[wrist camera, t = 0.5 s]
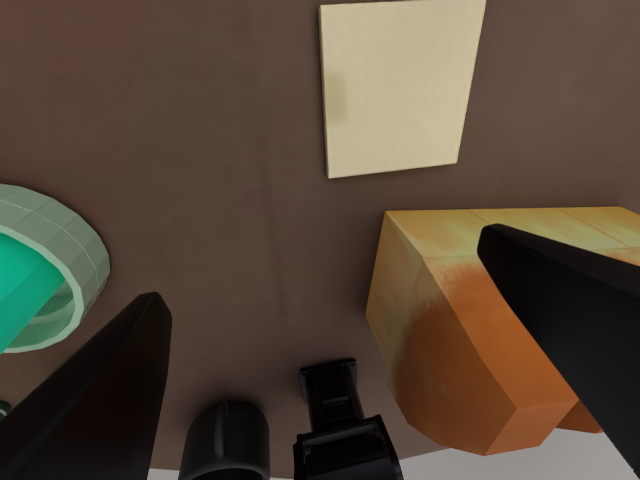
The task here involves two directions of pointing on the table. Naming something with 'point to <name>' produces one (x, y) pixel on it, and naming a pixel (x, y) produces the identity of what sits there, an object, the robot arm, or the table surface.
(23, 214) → the bowl
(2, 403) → the flashlight
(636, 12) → the table surface
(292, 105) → the table surface
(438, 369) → the bread
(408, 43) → the coaster
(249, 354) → the table surface
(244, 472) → the mug
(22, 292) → the candle
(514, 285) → the robot arm
